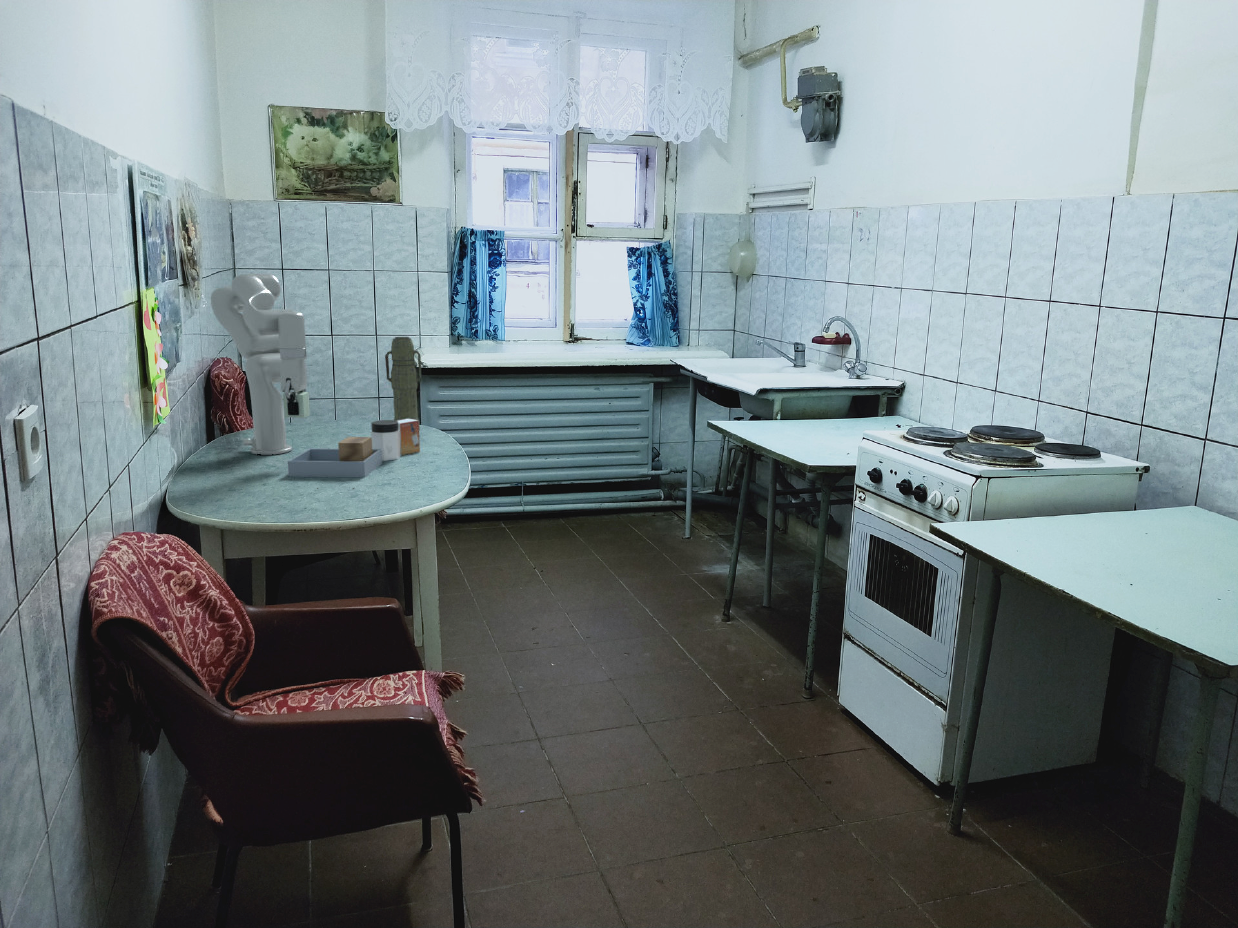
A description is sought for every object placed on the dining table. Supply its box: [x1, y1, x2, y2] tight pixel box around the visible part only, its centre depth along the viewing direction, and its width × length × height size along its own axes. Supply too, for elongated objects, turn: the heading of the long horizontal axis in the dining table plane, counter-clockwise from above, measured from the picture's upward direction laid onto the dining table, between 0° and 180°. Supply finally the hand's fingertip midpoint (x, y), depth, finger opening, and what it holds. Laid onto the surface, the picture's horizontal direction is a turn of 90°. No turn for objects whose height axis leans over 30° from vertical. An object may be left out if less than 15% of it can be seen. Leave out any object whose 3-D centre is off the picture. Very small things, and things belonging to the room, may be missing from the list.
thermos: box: [384, 336, 422, 438], centre depth 315 cm, size 9×12×35 cm
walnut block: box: [337, 436, 373, 461], centre depth 266 cm, size 7×9×9 cm
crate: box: [287, 448, 383, 478], centre depth 267 cm, size 22×17×5 cm
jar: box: [370, 419, 402, 462], centre depth 282 cm, size 9×8×12 cm
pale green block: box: [282, 391, 311, 419], centre depth 276 cm, size 6×5×7 cm
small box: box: [398, 419, 421, 456], centre depth 293 cm, size 8×6×10 cm
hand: (297, 412), depth 277 cm, fingers closed on pale green block, 5 cm apart
